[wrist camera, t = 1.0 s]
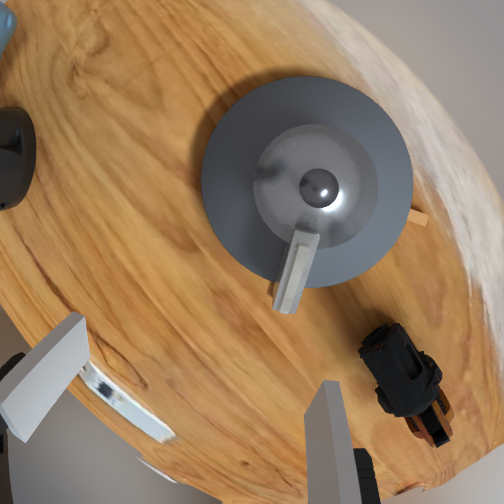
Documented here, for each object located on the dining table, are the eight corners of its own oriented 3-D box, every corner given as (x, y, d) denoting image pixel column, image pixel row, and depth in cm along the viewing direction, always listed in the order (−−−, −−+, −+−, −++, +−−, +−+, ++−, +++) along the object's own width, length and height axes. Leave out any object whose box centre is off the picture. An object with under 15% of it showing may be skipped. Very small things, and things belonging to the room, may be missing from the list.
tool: (388, 292, 37) (412, 315, 22) (451, 399, 32) (480, 450, 18) (343, 325, 39) (342, 365, 24) (410, 426, 35) (425, 484, 20)
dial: (270, 115, 22) (269, 106, 18) (378, 147, 22) (397, 146, 18) (232, 278, 27) (225, 299, 23) (330, 301, 27) (338, 324, 23)
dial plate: (162, 227, 29) (154, 232, 27) (278, 47, 22) (278, 39, 20) (333, 334, 31) (335, 344, 29) (449, 180, 24) (459, 181, 23)
